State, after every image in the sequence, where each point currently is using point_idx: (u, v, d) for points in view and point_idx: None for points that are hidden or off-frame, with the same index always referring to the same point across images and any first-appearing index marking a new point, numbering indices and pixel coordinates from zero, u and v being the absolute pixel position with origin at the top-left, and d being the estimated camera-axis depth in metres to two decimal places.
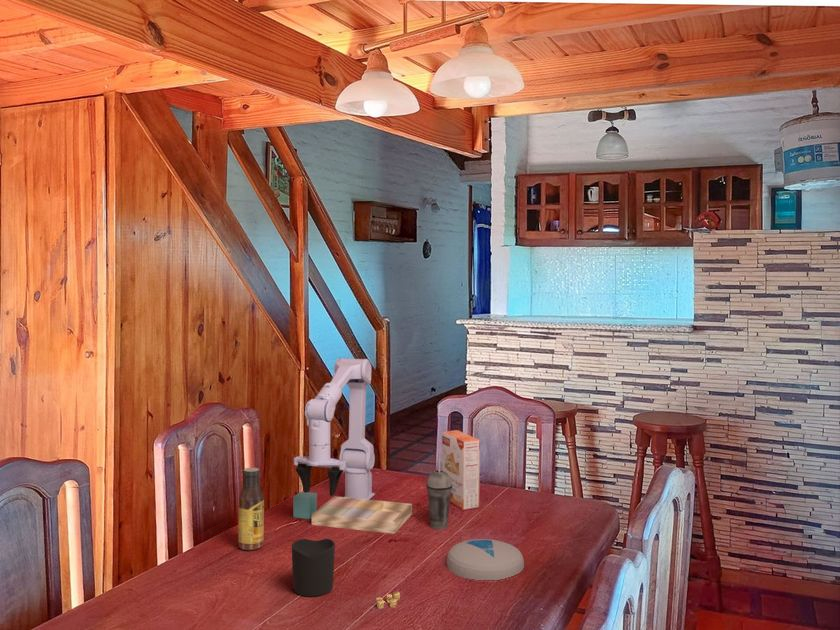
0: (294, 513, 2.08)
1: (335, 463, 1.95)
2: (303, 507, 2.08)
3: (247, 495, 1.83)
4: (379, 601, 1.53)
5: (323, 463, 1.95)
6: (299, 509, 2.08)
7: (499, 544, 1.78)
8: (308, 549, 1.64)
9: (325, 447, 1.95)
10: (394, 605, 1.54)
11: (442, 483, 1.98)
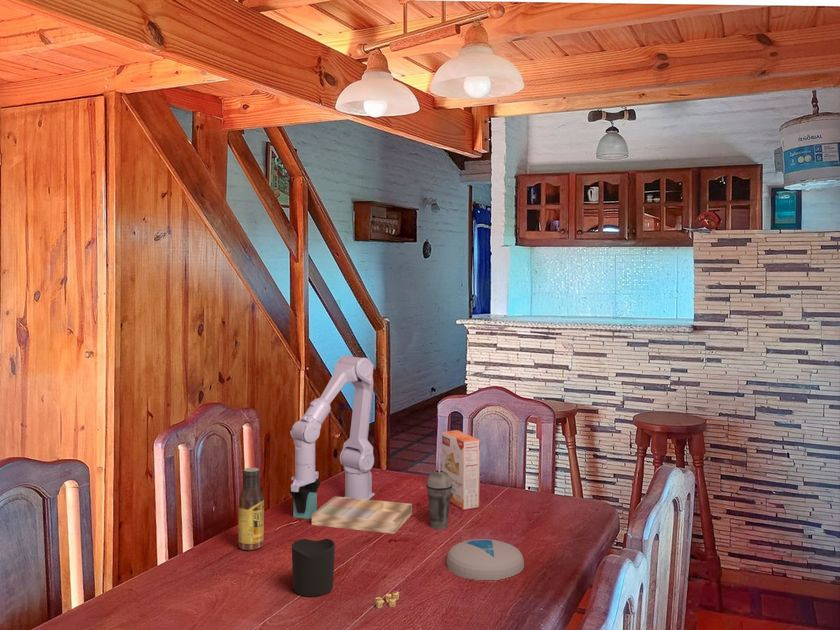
0: (294, 513, 2.08)
1: (293, 483, 2.05)
2: None
3: (247, 495, 1.83)
4: (378, 600, 1.54)
5: None
6: None
7: (499, 544, 1.78)
8: (308, 549, 1.64)
9: (296, 466, 2.08)
10: (393, 605, 1.54)
11: (442, 483, 1.98)
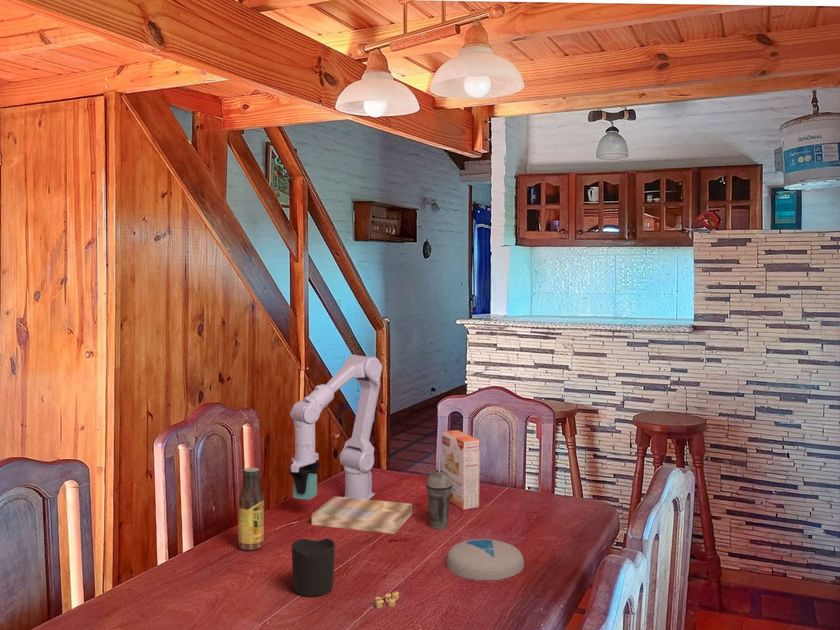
0: (294, 494, 2.08)
1: (293, 464, 2.05)
2: None
3: (247, 495, 1.83)
4: (378, 600, 1.54)
5: None
6: None
7: (499, 544, 1.78)
8: (308, 549, 1.64)
9: (296, 447, 2.07)
10: (393, 604, 1.54)
11: (442, 483, 1.98)
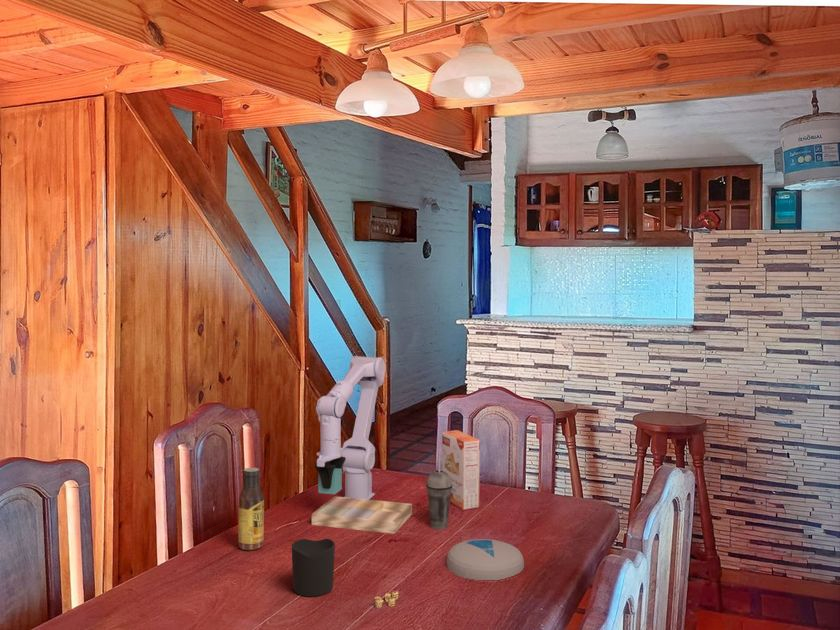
0: (319, 488, 2.08)
1: (318, 458, 2.04)
2: None
3: (247, 495, 1.83)
4: (377, 600, 1.54)
5: (319, 456, 2.07)
6: None
7: (499, 544, 1.78)
8: (308, 549, 1.64)
9: (322, 441, 2.07)
10: (392, 604, 1.54)
11: (442, 483, 1.98)
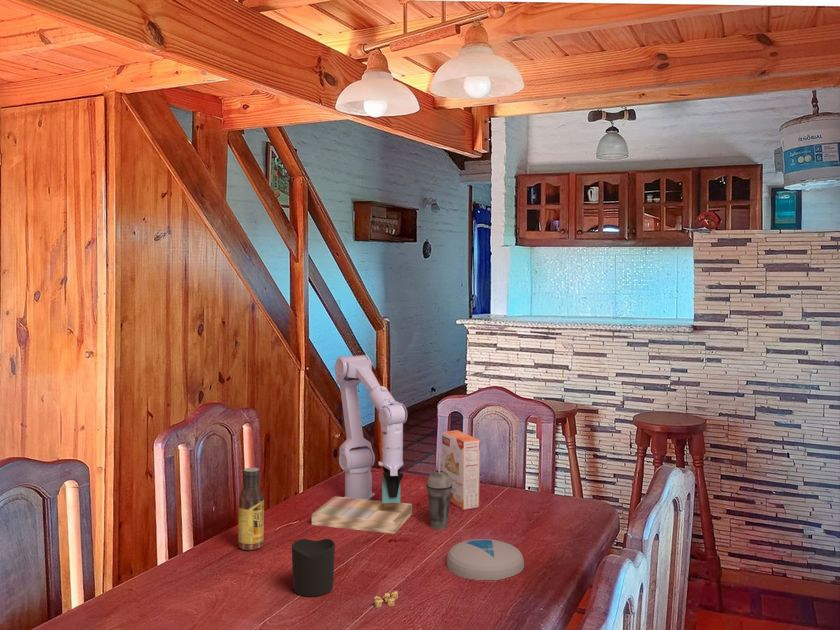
0: (383, 499, 2.06)
1: (389, 468, 2.03)
2: None
3: (247, 495, 1.83)
4: (377, 600, 1.54)
5: (384, 465, 2.05)
6: None
7: (499, 544, 1.78)
8: (308, 549, 1.64)
9: (387, 450, 2.05)
10: (392, 604, 1.54)
11: (442, 483, 1.98)
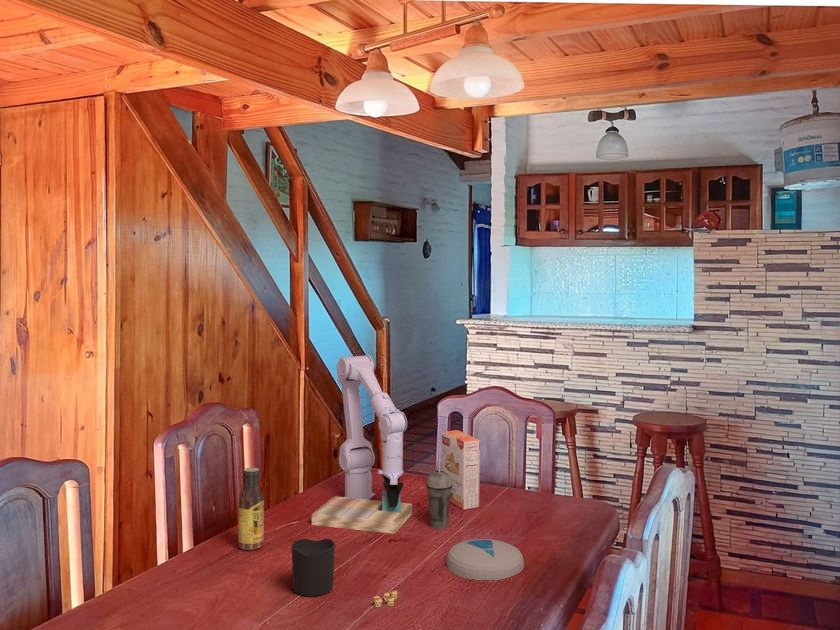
0: None
1: (388, 476, 2.03)
2: None
3: (247, 495, 1.83)
4: (377, 600, 1.54)
5: (384, 474, 2.06)
6: (389, 508, 2.06)
7: (499, 544, 1.78)
8: (308, 549, 1.64)
9: (387, 459, 2.05)
10: (391, 604, 1.54)
11: (442, 483, 1.98)
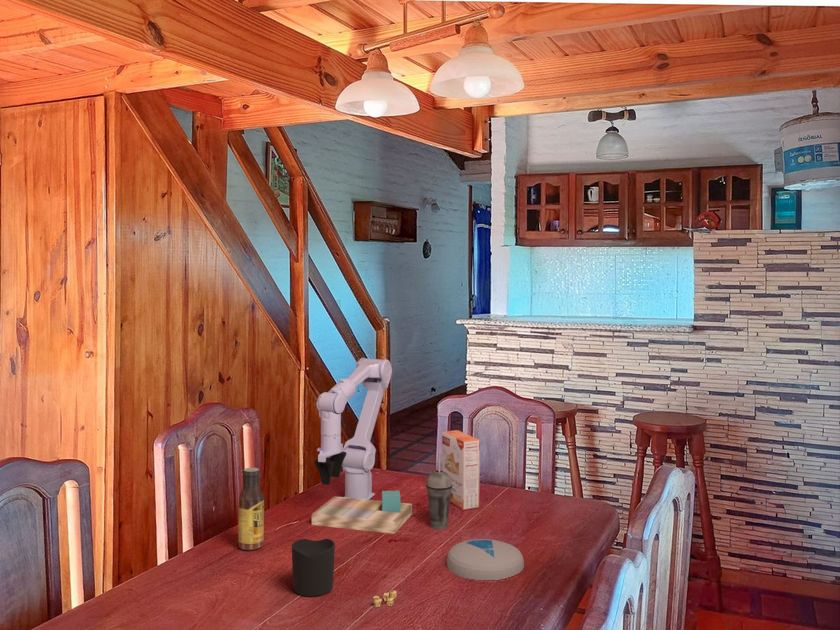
0: None
1: (319, 454, 2.07)
2: (393, 506, 2.06)
3: (247, 495, 1.83)
4: (376, 599, 1.54)
5: (320, 451, 2.10)
6: (389, 508, 2.06)
7: (499, 544, 1.78)
8: (308, 549, 1.64)
9: (322, 437, 2.09)
10: (391, 603, 1.55)
11: (442, 483, 1.98)
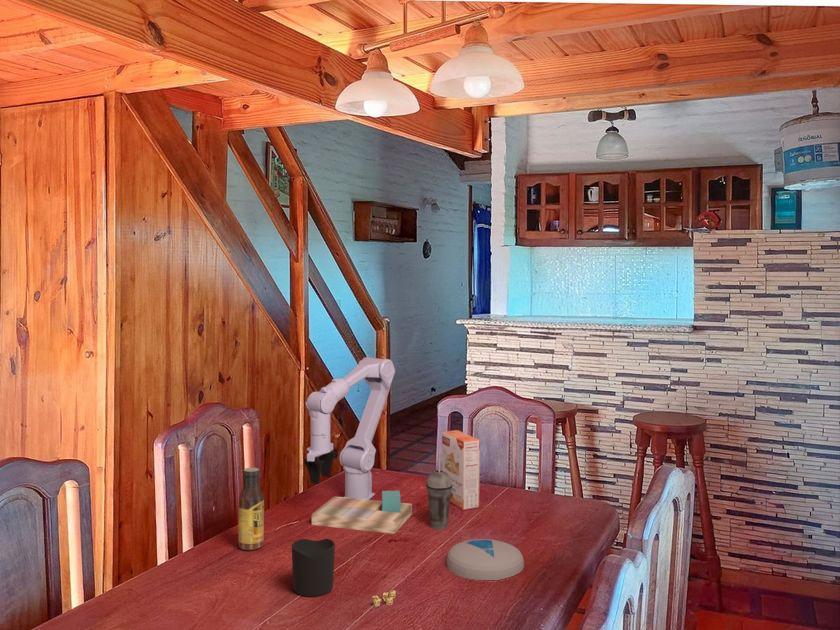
0: None
1: (308, 453, 2.08)
2: (393, 506, 2.06)
3: (247, 495, 1.83)
4: (375, 599, 1.54)
5: (309, 451, 2.11)
6: (389, 508, 2.06)
7: (499, 544, 1.78)
8: (308, 549, 1.64)
9: (312, 436, 2.10)
10: (390, 603, 1.55)
11: (442, 483, 1.98)
